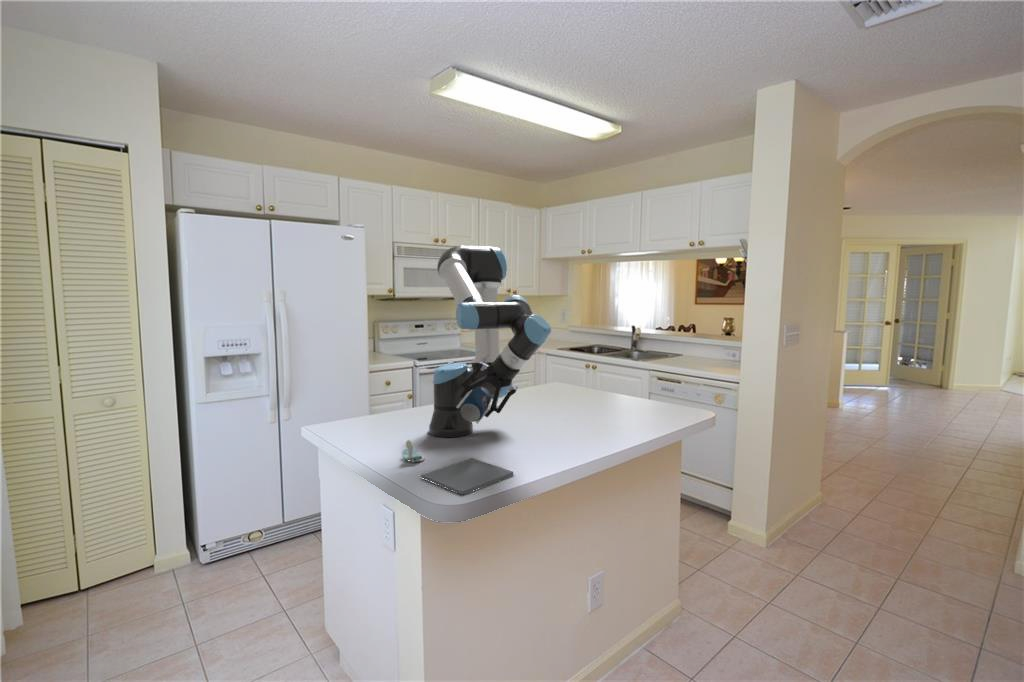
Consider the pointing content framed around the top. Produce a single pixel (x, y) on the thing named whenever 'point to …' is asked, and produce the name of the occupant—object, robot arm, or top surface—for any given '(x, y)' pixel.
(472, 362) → the robot arm
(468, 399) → the soda can
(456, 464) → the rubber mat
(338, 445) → the top surface
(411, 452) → the pacifier
